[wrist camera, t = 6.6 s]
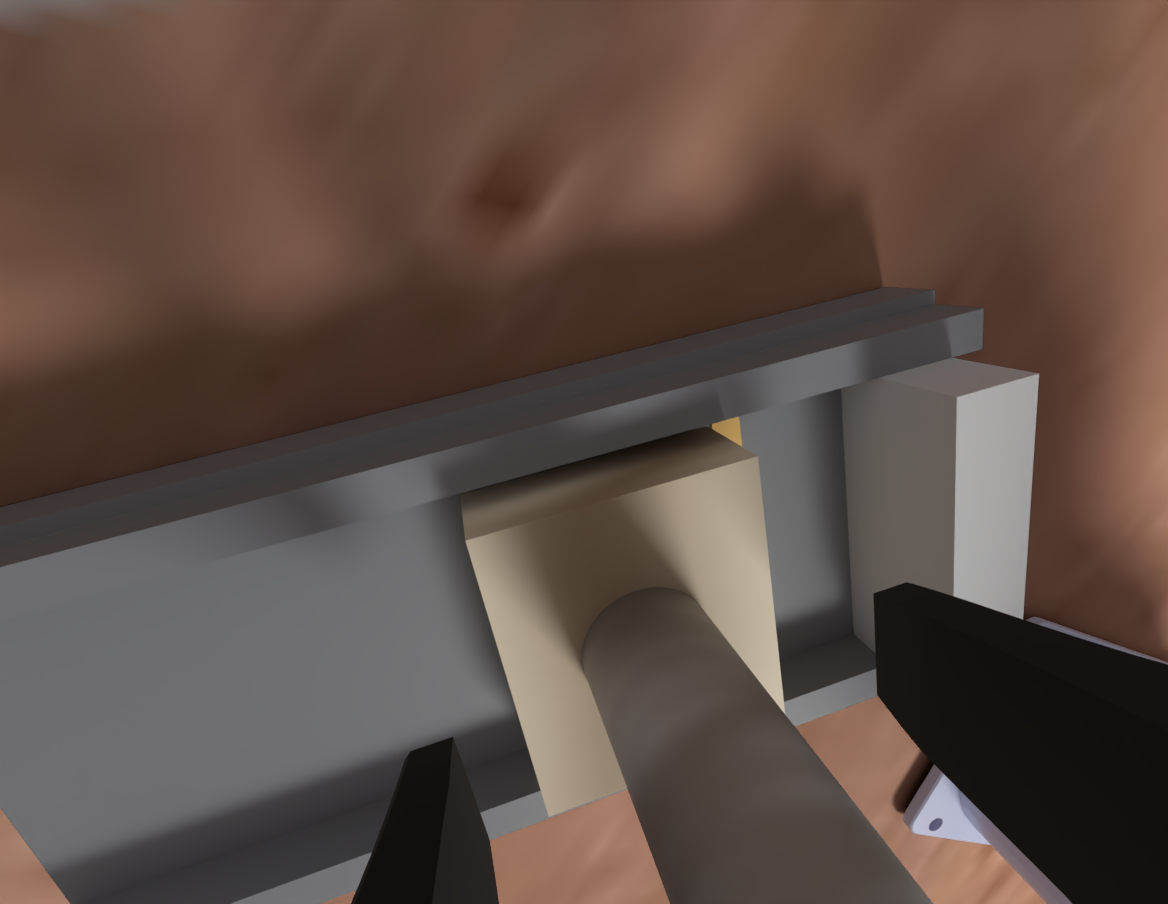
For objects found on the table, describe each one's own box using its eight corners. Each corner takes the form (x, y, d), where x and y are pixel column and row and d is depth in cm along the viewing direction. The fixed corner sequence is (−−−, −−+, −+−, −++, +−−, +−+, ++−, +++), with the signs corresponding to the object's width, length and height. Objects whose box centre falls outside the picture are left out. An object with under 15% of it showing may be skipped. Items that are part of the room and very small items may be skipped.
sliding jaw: (707, 425, 12) (1160, 695, 4) (739, 666, 14) (1088, 1125, 7) (460, 494, 11) (514, 957, 4) (532, 739, 13) (661, 1352, 6)
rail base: (884, 287, 14) (1079, 297, 10) (892, 609, 17) (1043, 723, 13) (-95, 530, 11) (-435, 702, 6) (133, 874, 14) (2, 1140, 10)
